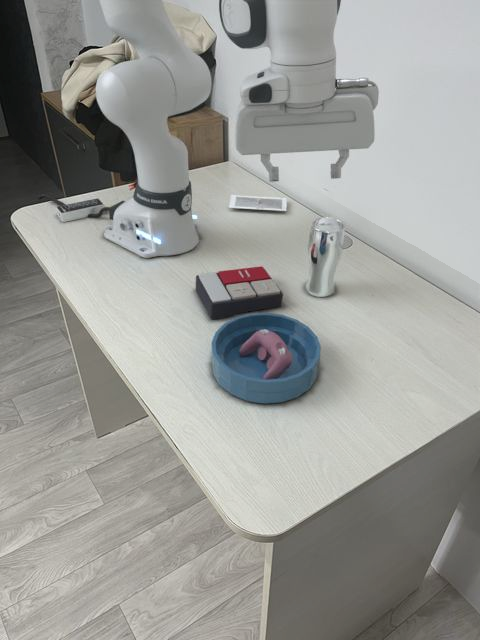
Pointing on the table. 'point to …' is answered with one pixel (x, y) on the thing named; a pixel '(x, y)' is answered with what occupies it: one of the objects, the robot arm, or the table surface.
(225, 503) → the table surface
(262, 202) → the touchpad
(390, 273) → the table surface
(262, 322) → the blue bowl
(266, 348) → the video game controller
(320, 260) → the beer glass
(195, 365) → the table surface
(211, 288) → the red and gray box
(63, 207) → the multiport hub
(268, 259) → the table surface
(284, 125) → the robot arm
